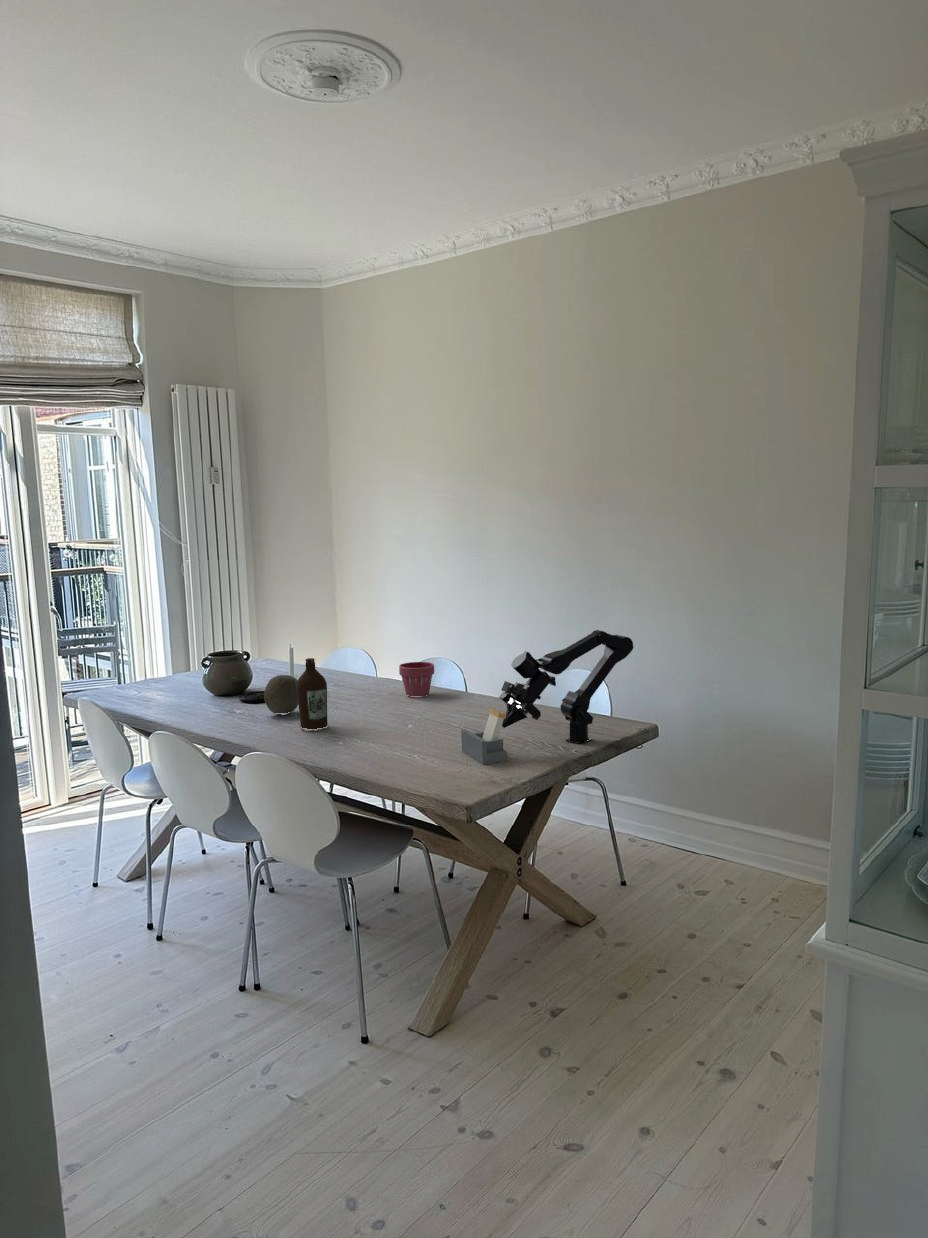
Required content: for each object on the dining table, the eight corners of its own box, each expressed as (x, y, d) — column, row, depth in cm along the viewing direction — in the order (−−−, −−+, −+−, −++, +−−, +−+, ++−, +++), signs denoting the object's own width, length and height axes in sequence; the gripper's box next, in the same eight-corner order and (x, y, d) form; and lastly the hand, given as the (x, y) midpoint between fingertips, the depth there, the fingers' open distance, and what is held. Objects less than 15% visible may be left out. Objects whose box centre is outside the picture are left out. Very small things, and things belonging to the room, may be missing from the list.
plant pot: (442, 693, 356) (440, 662, 354) (422, 700, 344) (421, 669, 343) (413, 690, 364) (412, 660, 362) (393, 697, 352) (391, 666, 350)
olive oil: (294, 727, 310) (289, 658, 306) (321, 722, 315) (317, 655, 312) (306, 733, 301) (301, 662, 297) (334, 728, 306) (330, 658, 303)
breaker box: (485, 747, 275) (484, 726, 274) (507, 760, 261) (506, 738, 260) (462, 751, 272) (461, 729, 271) (482, 764, 258) (481, 741, 257)
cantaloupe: (299, 718, 324) (296, 678, 322) (261, 719, 324) (258, 680, 322) (306, 709, 338) (304, 671, 336) (270, 710, 338) (267, 672, 336)
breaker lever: (487, 741, 270) (497, 710, 270) (496, 746, 264) (506, 715, 264) (480, 739, 269) (490, 708, 269) (489, 744, 263) (499, 713, 263)
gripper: (504, 666, 276) (473, 704, 274) (530, 676, 259) (498, 717, 257) (526, 688, 280) (496, 726, 278) (554, 699, 263) (522, 740, 261)
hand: (502, 726), depth 268 cm, fingers closed
